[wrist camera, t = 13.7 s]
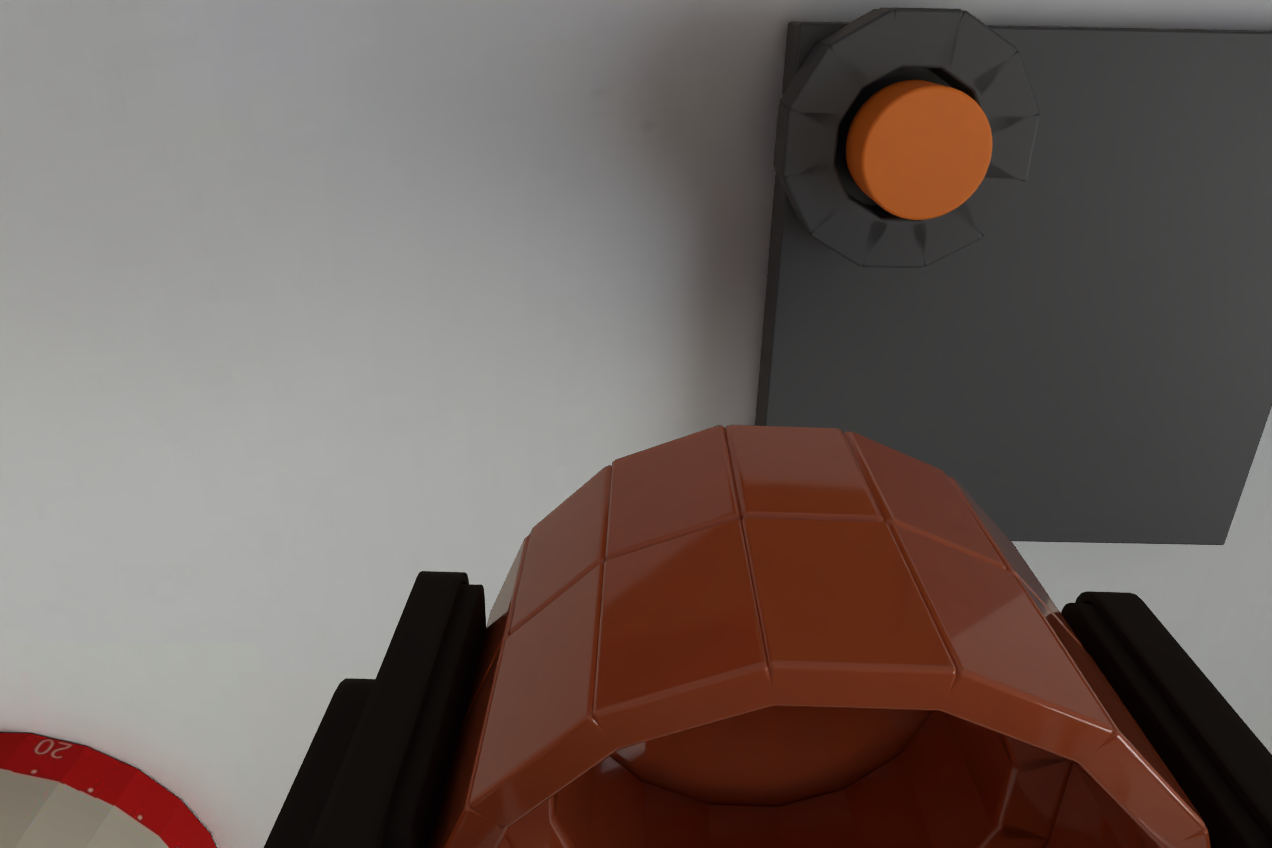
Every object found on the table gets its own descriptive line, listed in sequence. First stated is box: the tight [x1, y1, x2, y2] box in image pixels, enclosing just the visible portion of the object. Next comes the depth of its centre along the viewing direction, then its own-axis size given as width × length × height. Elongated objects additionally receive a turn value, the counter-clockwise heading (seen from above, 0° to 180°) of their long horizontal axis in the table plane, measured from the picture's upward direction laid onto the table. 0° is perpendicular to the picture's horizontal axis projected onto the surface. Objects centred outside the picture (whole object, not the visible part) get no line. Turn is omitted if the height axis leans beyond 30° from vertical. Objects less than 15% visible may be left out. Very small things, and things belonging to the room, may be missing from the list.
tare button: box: [846, 80, 992, 220], centre depth 20 cm, size 3×3×2 cm
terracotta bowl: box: [430, 425, 1211, 848], centre depth 10 cm, size 7×7×5 cm
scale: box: [755, 8, 1272, 545], centre depth 24 cm, size 14×14×4 cm
